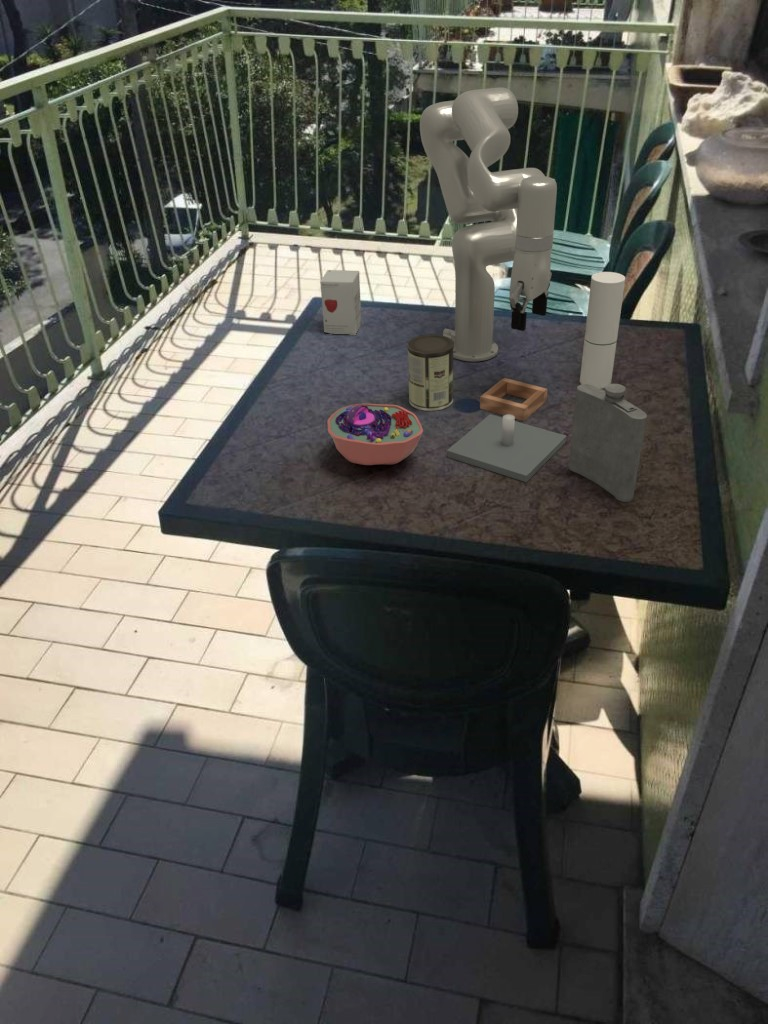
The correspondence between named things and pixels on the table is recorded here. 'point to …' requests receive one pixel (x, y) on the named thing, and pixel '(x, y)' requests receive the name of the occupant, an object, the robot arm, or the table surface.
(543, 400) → the ring
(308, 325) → the table surface
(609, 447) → the hip flask
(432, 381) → the coffee can
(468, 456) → the stand
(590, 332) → the cylindrical container
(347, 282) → the supplement box
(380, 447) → the cell model
